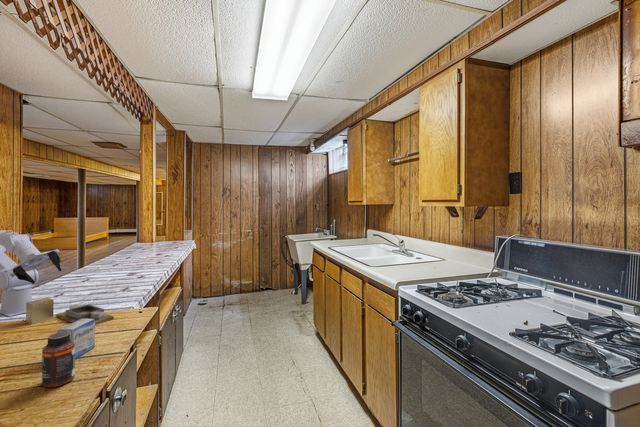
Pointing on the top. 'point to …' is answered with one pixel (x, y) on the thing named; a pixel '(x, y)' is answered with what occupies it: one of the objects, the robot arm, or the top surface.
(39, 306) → the block
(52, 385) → the supplement bottle
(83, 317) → the brown board
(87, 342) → the medicine box
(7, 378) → the top surface
